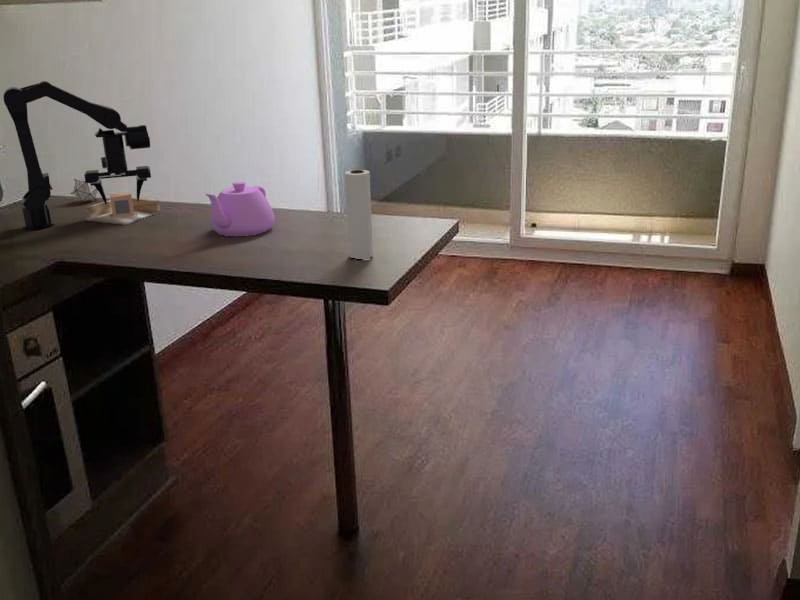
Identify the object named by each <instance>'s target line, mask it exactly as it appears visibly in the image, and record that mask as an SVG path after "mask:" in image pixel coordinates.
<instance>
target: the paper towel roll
mask: <svg viewBox="0 0 800 600" xmlns="http://www.w3.org/2000/svg"><path fill="white" fill-rule="evenodd" d="M370 173H371V172H370V171H369V170H367V169H366V170H365V169H352V170H346V171H345V172H344V185H345V203H346V204H345V206H346V207H345V208H346V222H347V223H346V224H347V241H348V244H347V245H348V257H349V256H350V257H355V258H360V259H361V258H362V259H371V258H372V257H373V256H374V249H373V247H374V246H373V244H374V243H373V224H372V223H373V222H372V218H373V217H372V198H371V175H370ZM372 255H373V256H372ZM370 256H372V257H371V258H370ZM350 257H349V258H350Z"/></svg>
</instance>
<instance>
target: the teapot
mask: <svg viewBox="0 0 800 600" xmlns="http://www.w3.org/2000/svg"><path fill="white" fill-rule="evenodd" d="M266 195H267V193H266V191H265V188H263V186H260V185H255V186H246V182H245V181H234V182H233V183H232V187H228V188H225V189H222V190H220V192H219V193H218V196H217V195H215V194H211V193H209V194H208V193H205V196H207V197H208V198H209V201H210V205H211V207H210V208H211V209H210V211H211V213H210V217H209V218H210V219H209V222H210V227H211V228H212V229H213V230H214V232H216V233H217V234H218V235H219V234H220V236H222V235H225V236H224V237H227V236H247V235H254V234H258V233H262V232H265V231H267V230H268V231H269V230H270V229H271V228H272V226H273V225H274V223H275V220H276V219H275V214H274V211H273V208H272V205H271V204H270V202H269V200H268V199H267V198H266ZM268 231H267V232H268ZM265 233H266V232H265ZM262 234H263V233H262ZM258 235H259V234H258ZM254 236H255V235H254ZM247 237H248V236H247Z"/></svg>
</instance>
